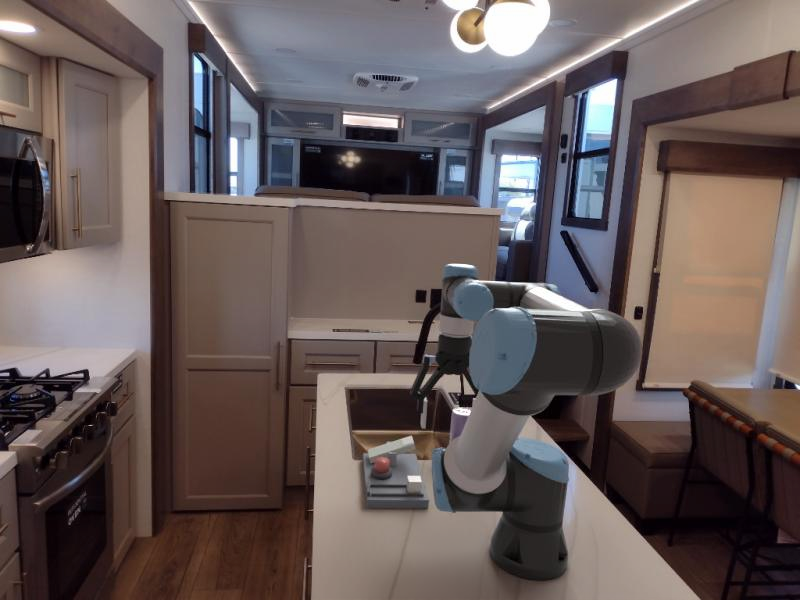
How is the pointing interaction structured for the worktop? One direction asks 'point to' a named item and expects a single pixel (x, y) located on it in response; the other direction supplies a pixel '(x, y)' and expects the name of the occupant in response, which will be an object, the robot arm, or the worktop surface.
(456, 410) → the beverage can
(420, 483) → the slider knob
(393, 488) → the console
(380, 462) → the button
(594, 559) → the worktop surface
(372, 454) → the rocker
